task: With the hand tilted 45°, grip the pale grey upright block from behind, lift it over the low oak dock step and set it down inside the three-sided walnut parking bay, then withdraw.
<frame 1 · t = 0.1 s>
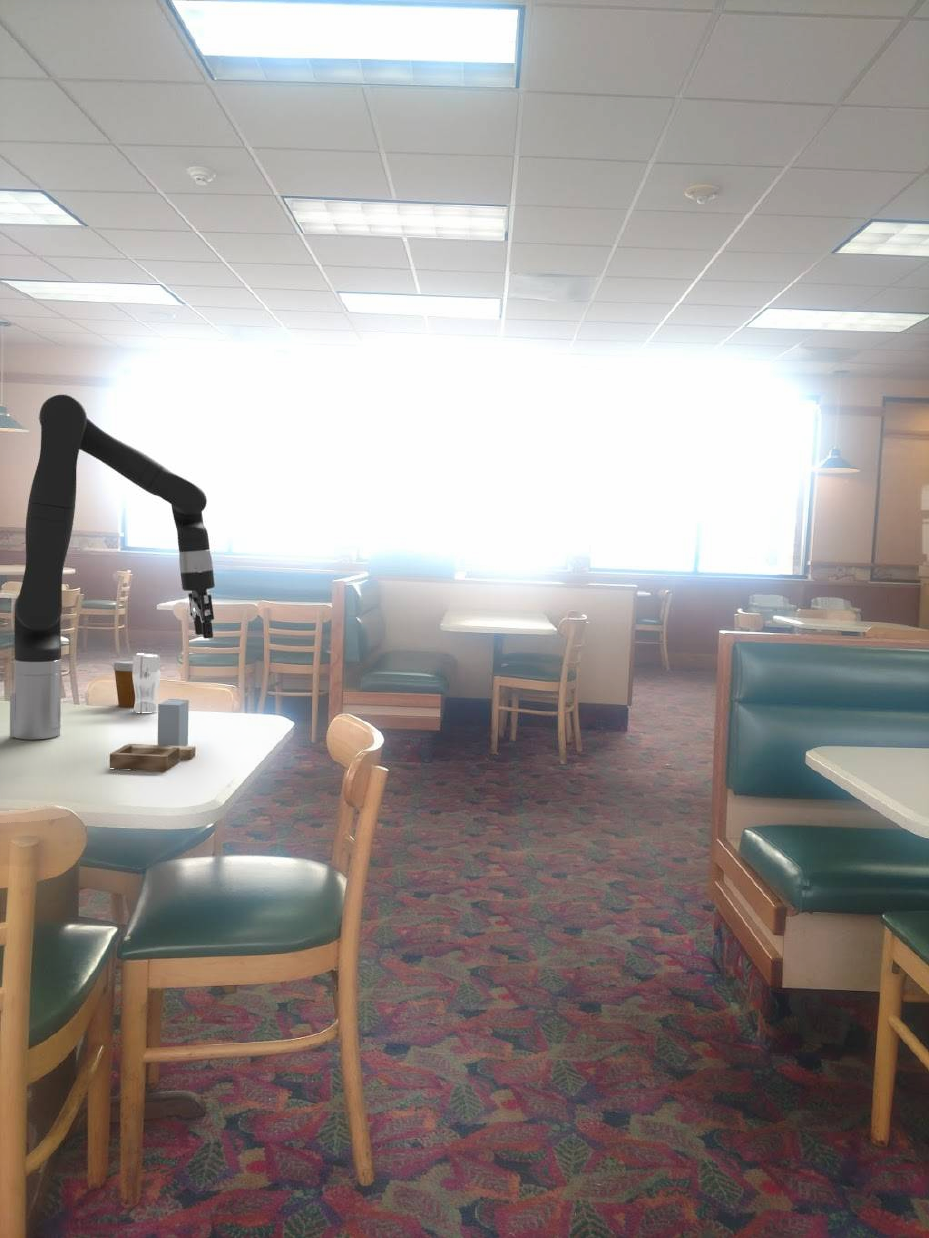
hand: (204, 636, 201), 22 cm above the table, tool pointing down, fingers open, 8 cm apart
disposable coffee cup: (131, 705, 225), on the table
beer glass: (145, 712, 217), on the table
dock step: (159, 756, 172), on the table
bay: (146, 764, 165), on the table
pale grey upright block: (172, 747, 180), on the table
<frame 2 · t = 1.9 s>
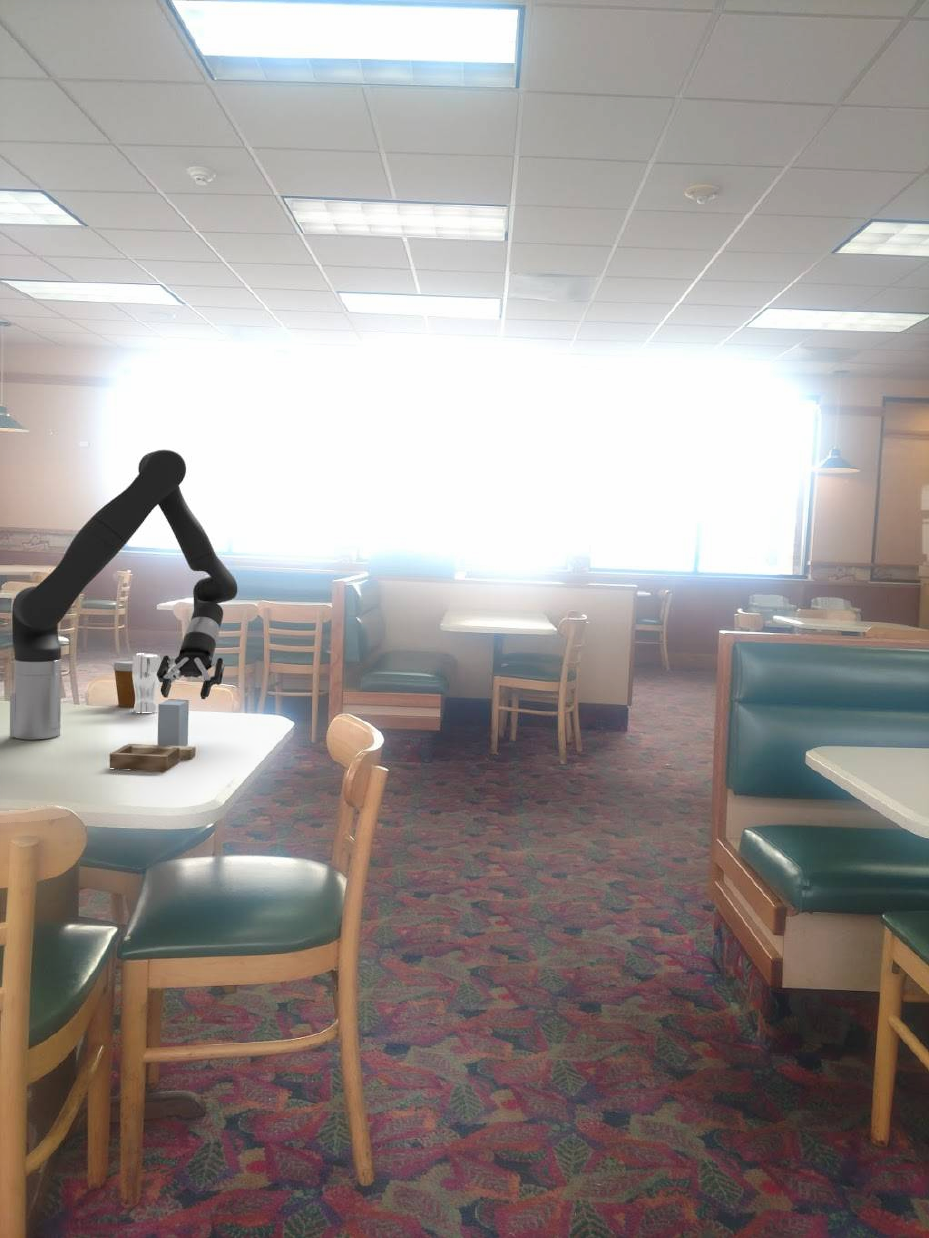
hand: (183, 696, 186), 10 cm above the table, tool tilted 45°, fingers open, 8 cm apart
nothing on the table moved.
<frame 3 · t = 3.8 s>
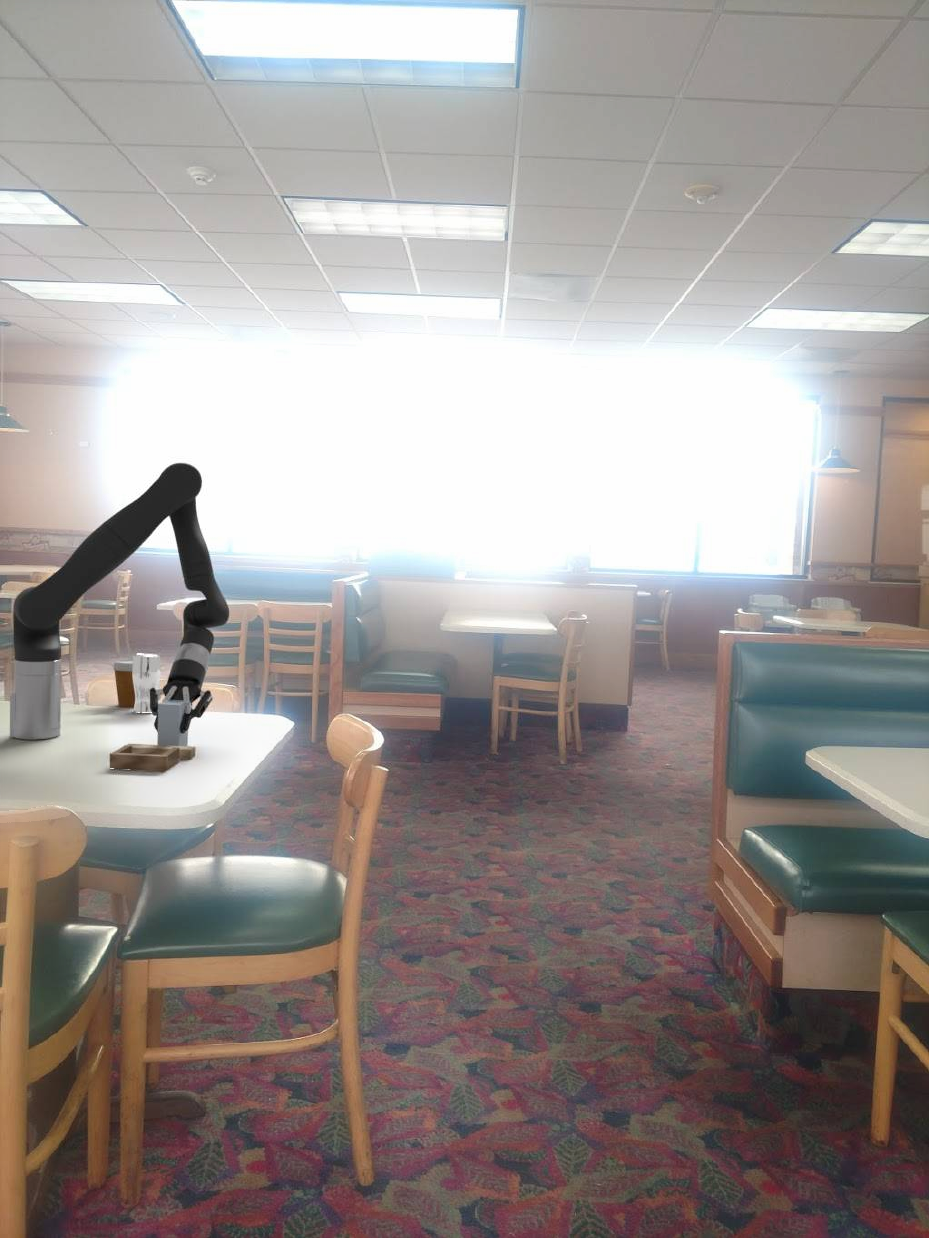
hand: (170, 730, 178), 4 cm above the table, tool tilted 45°, fingers closed on pale grey upright block, 4 cm apart
pale grey upright block: (172, 747, 180), on the table, touching gripper
everything else where it was.
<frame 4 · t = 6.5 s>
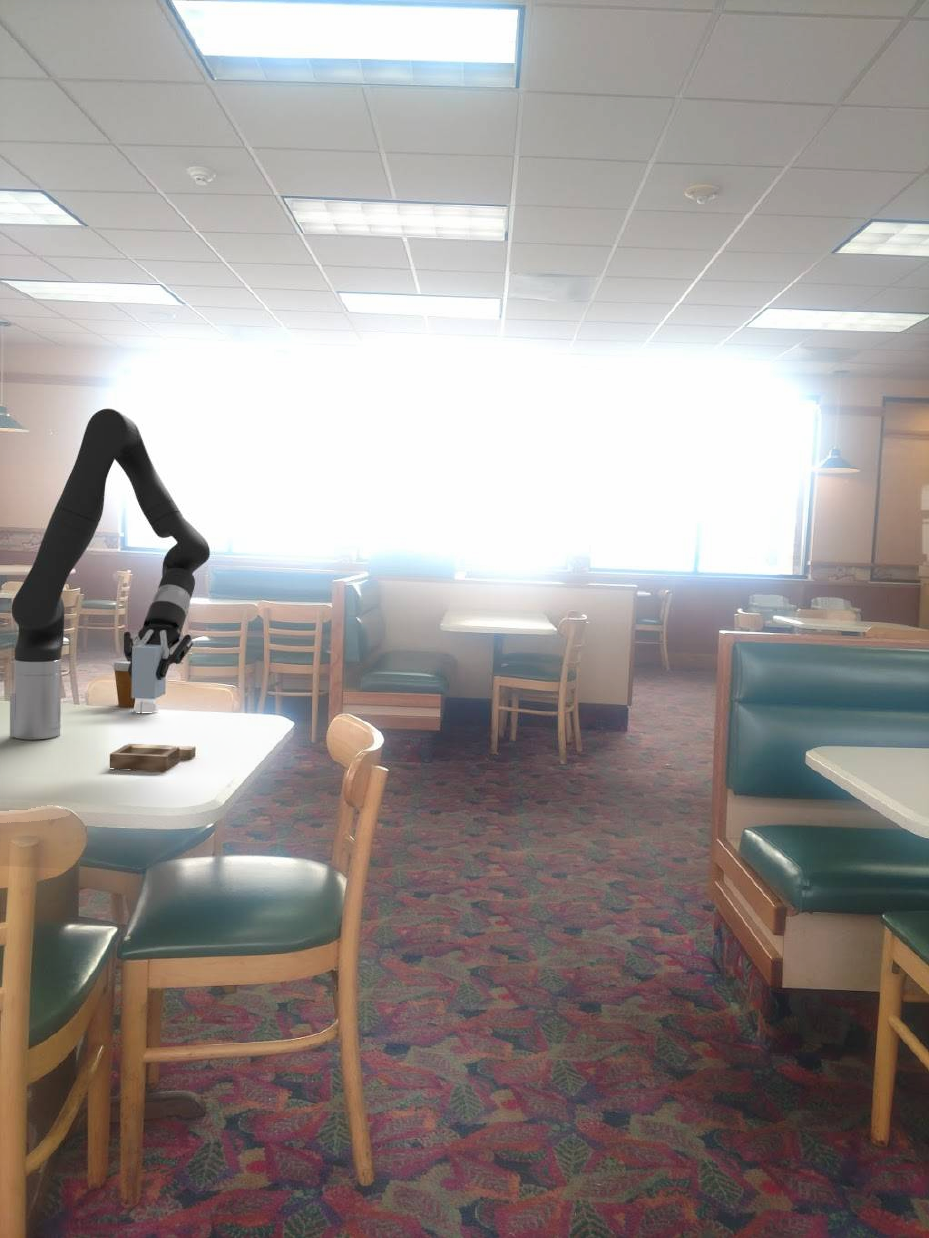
hand: (145, 676, 162), 18 cm above the table, tool tilted 45°, fingers closed on pale grey upright block, 4 cm apart
pale grey upright block: (148, 695, 165), point 14 cm above the table, touching gripper
everything else where it was.
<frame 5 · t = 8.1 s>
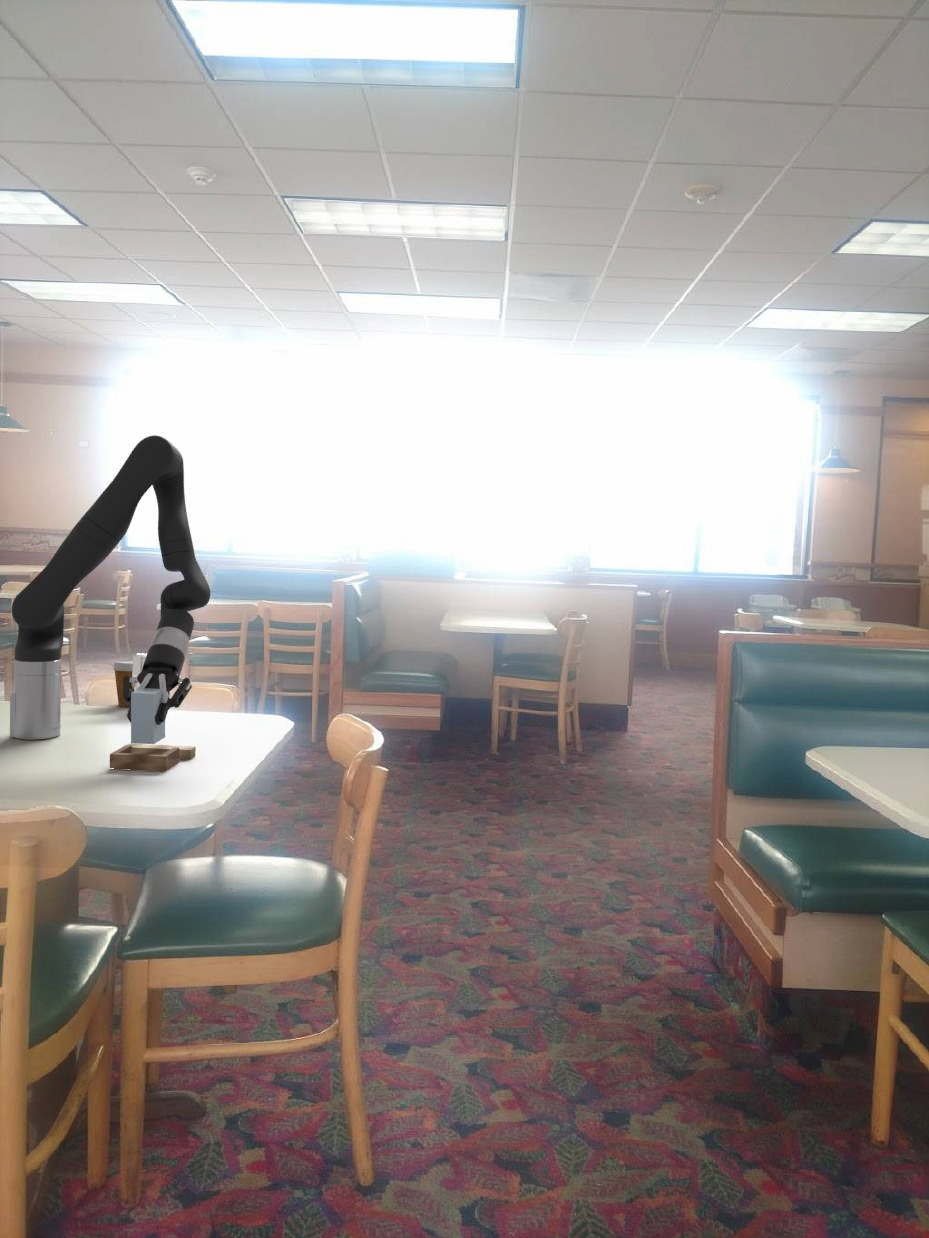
hand: (144, 721, 163), 9 cm above the table, tool tilted 45°, fingers closed on pale grey upright block, 4 cm apart
pale grey upright block: (148, 740, 165), point 5 cm above the table, touching gripper
everything else where it was.
when the fingers open (5 cm above the table, at t = 9.2 s): pale grey upright block drops 1 cm, on the table.
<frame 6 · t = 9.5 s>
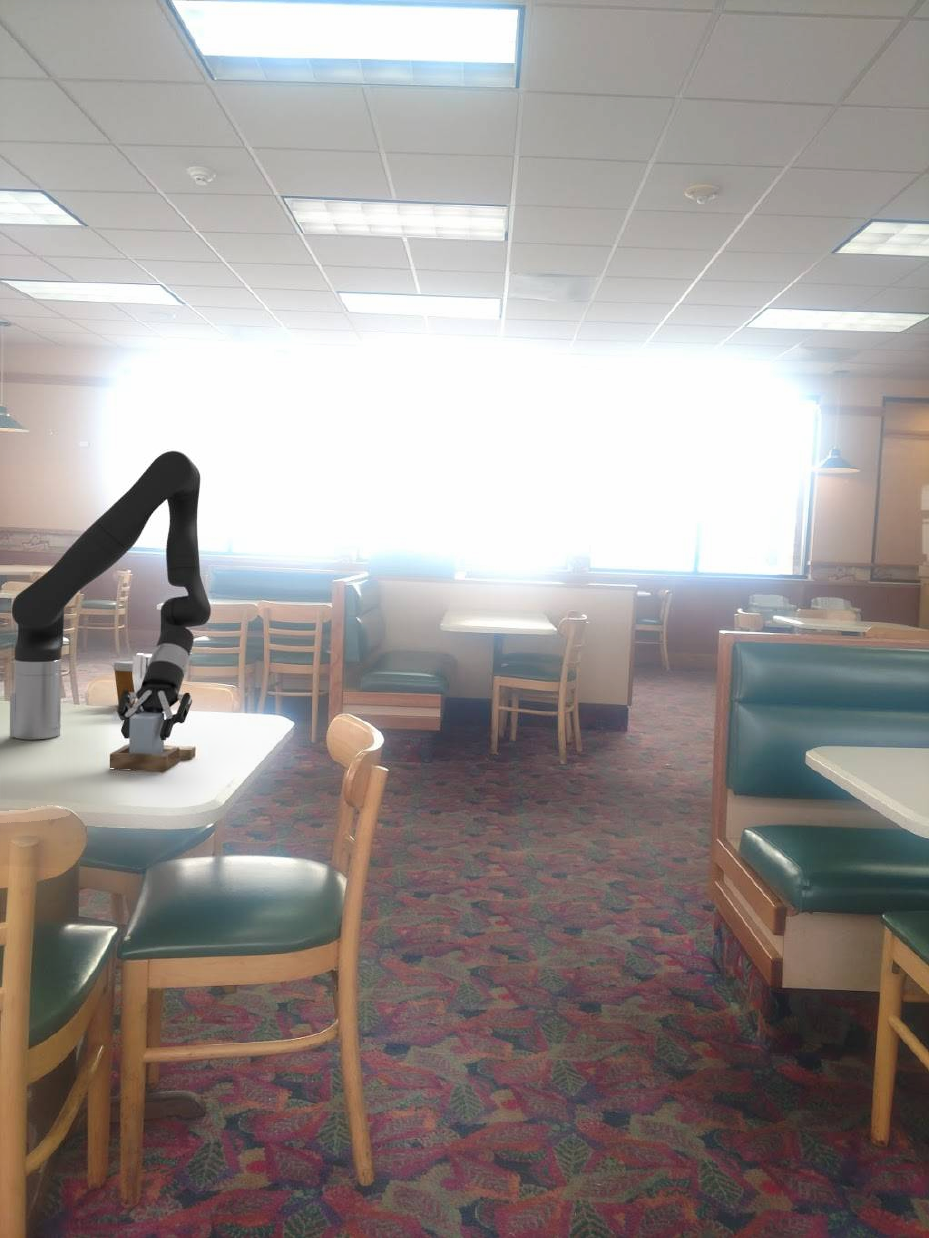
hand: (144, 737, 163), 6 cm above the table, tool tilted 45°, fingers open, 6 cm apart
pale grey upright block: (146, 764, 165), on the table
everything else where it was.
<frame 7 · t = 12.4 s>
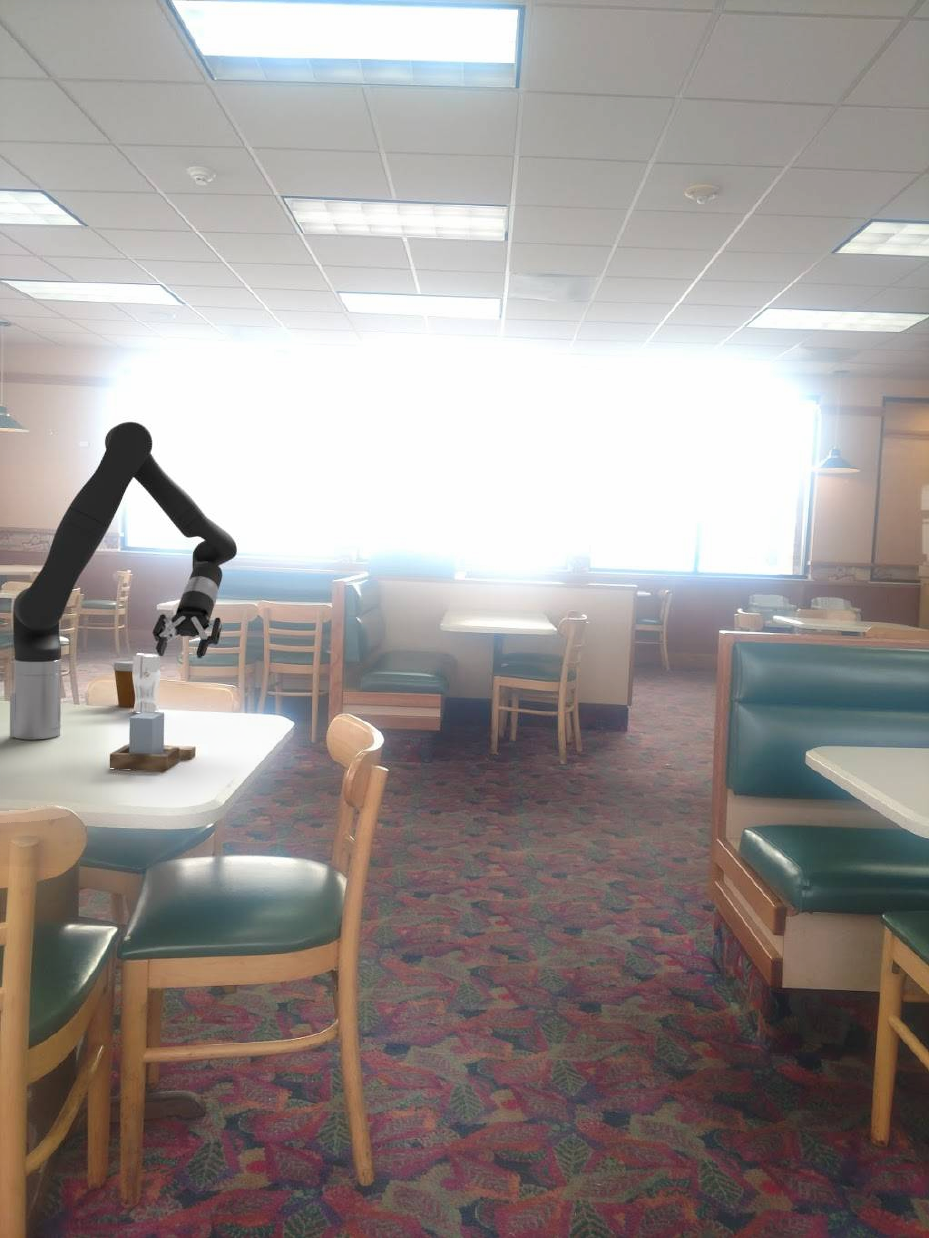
hand: (179, 654, 182), 20 cm above the table, tool tilted 45°, fingers open, 8 cm apart
nothing on the table moved.
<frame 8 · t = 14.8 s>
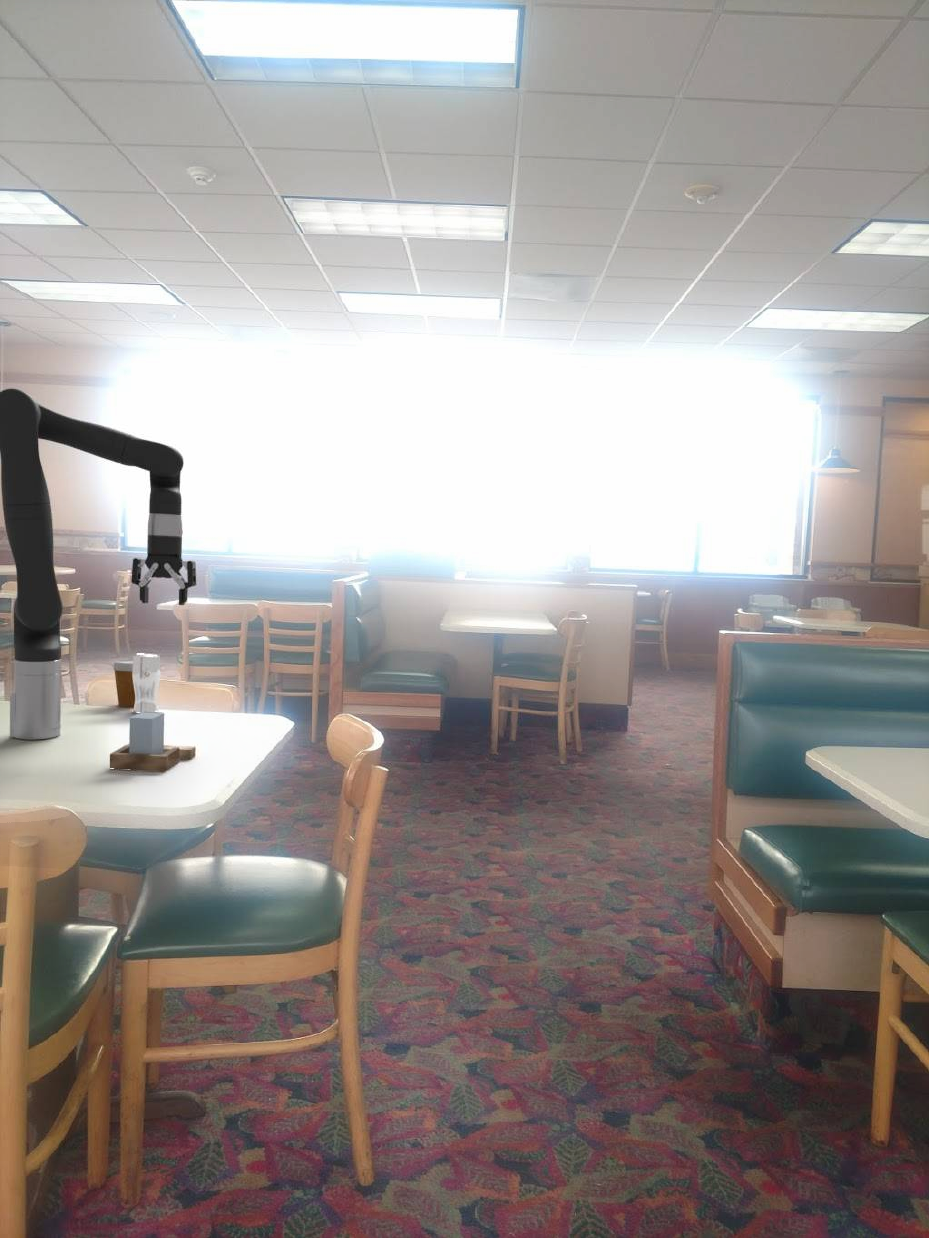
hand: (163, 604, 193), 30 cm above the table, tool pointing down, fingers open, 8 cm apart
nothing on the table moved.
at the end: pale grey upright block inside the target area (0.2 cm from its centre), on the table; pale grey upright block tilted 0°; the gripper is holding nothing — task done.
